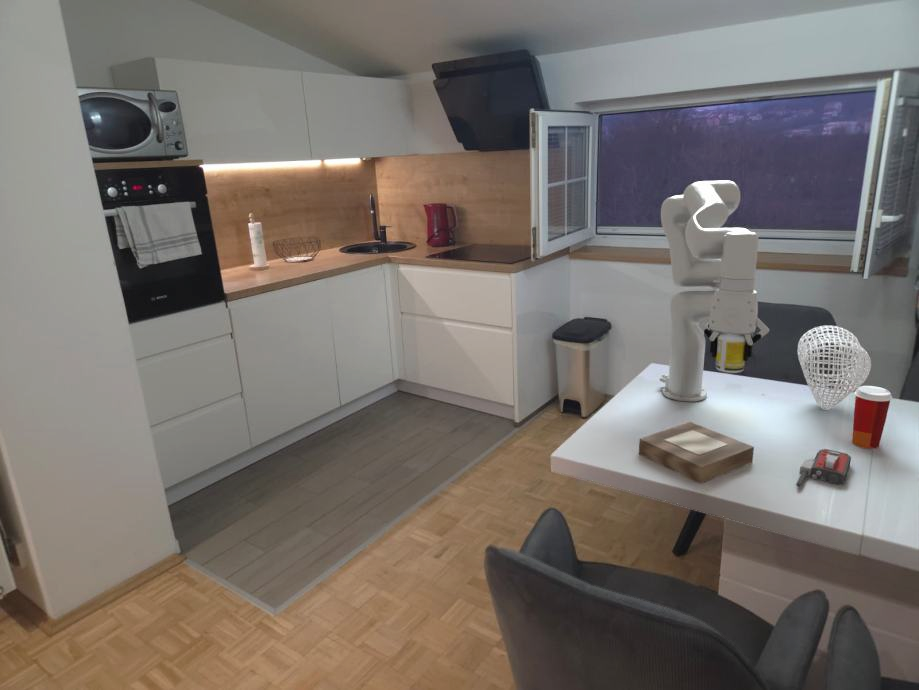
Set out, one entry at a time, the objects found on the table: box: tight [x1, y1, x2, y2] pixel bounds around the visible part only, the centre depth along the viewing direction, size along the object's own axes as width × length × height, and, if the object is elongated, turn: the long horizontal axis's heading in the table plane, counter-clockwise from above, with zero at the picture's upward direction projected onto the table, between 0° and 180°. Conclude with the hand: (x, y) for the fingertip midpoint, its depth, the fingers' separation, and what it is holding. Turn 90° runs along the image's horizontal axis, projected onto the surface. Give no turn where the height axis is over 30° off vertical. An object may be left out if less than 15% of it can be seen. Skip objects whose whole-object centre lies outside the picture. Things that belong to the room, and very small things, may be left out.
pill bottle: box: [715, 332, 747, 374], centre depth 152 cm, size 6×6×12 cm
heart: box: [797, 324, 872, 411], centre depth 173 cm, size 28×16×22 cm, turn 158°
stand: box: [638, 421, 755, 484], centre depth 150 cm, size 18×18×4 cm
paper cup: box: [851, 385, 893, 450], centre depth 153 cm, size 8×8×14 cm
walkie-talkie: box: [795, 448, 852, 488], centre depth 140 cm, size 9×4×20 cm
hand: (730, 357), depth 153 cm, fingers closed on pill bottle, 6 cm apart
